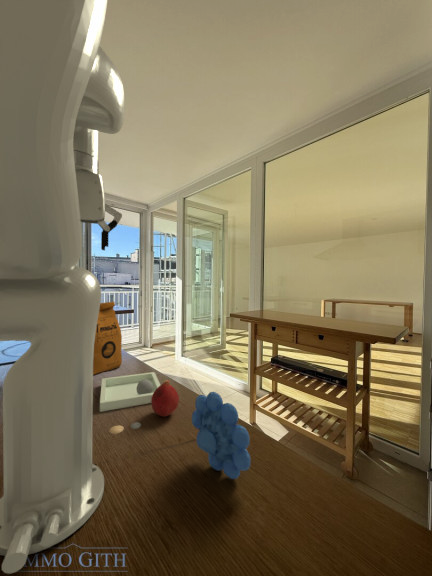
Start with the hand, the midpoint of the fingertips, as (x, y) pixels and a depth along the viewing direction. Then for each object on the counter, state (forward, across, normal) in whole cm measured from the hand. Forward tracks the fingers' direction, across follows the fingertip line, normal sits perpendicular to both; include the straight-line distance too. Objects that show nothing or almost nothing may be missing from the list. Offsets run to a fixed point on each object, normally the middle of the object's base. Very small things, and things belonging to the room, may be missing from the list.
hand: (78, 248), depth 53 cm
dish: (+36, +12, +4) cm, 38 cm away
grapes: (+36, +21, -27) cm, 50 cm away
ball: (+36, +14, +1) cm, 38 cm away
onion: (+36, +17, -9) cm, 41 cm away
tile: (+36, +9, -11) cm, 39 cm away
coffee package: (+36, +4, +25) cm, 44 cm away
